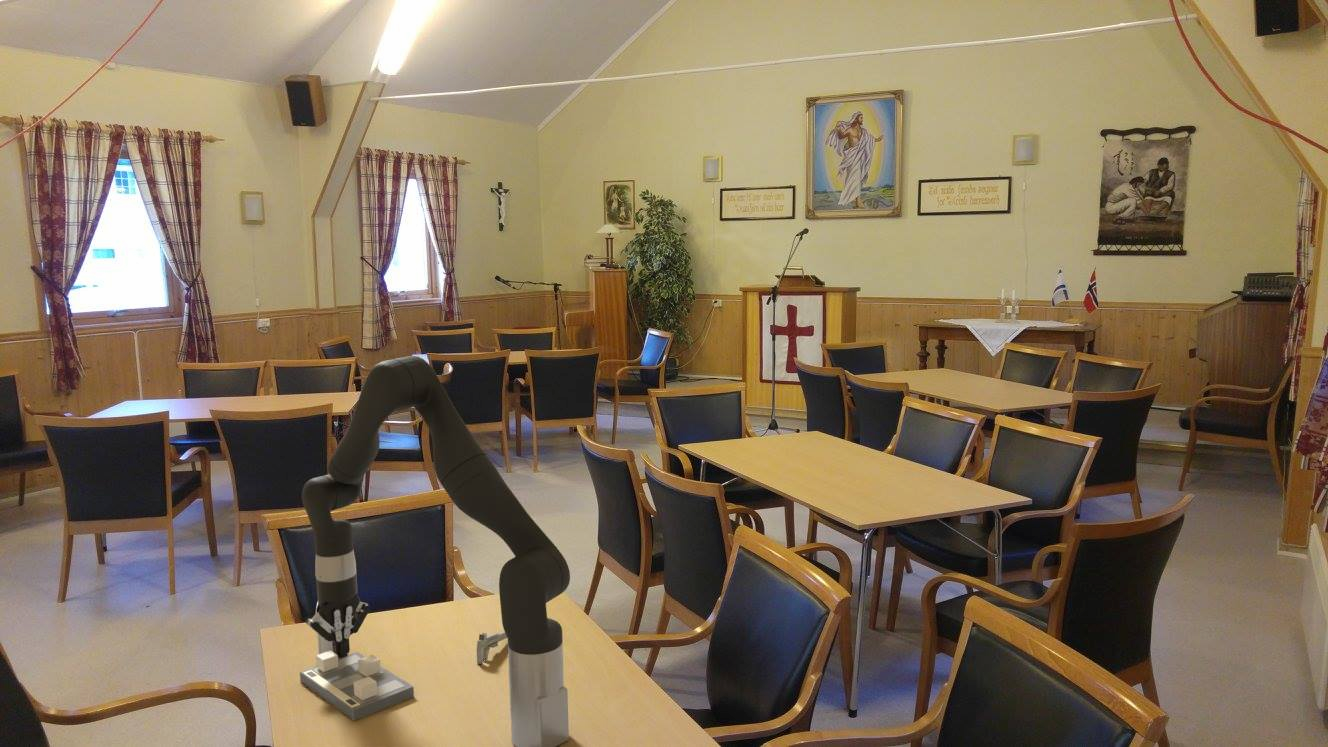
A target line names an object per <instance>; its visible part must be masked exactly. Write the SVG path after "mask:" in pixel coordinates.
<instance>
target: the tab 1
mask: <svg viewBox="0 0 1328 747" xmlns="http://www.w3.org/2000/svg"><path fill="white" fill-rule="evenodd" d="M315 660H316V662H315V663H316V666H317V668H318V669H320V670H321V671H323V672H326V671H328V670H331V669H334V668H337V667H338V655H337V654H335V653H334V652H332V651H331V650H330V651H327V652H324V653H322V654H317V655H316V654H315Z"/></svg>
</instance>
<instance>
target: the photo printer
mask: <svg viewBox="0 0 1328 747" xmlns="http://www.w3.org/2000/svg"><path fill="white" fill-rule="evenodd" d="M317 606H318V601H317V602H316V608H317ZM316 608H315V609H316ZM316 613H317V612H316V611H315V614H316ZM321 621H322V625H321V626H322V627H323V628H324V629H325V630H326V631H327V632H329V633H330V629H329V627H328V623H327V622H326V621H325V620H324V619H323V618H321ZM316 636H317V652H318V654H317V655H319V654H322V653H324V652H327V651H330V650H331V651H332V652H333V645H332V641H330V642H329V641H327V640H326V639H324V638H323V637H321V636H320V635H319V634H318V633H317V632H316Z"/></svg>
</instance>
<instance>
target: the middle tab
mask: <svg viewBox="0 0 1328 747" xmlns="http://www.w3.org/2000/svg"><path fill="white" fill-rule="evenodd" d="M358 666H359V672H360V673H361V674H363V675H364V676H366V677H367V676H370V675H373V674H375V673H378V672H381V667H382V666H381V658H379V657H377V656H375V655H374V654H370V655H368V656H365V657H364V658H362V659H359V660H358ZM380 666H381V667H380Z"/></svg>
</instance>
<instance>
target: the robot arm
mask: <svg viewBox="0 0 1328 747" xmlns="http://www.w3.org/2000/svg"><path fill="white" fill-rule="evenodd" d="M412 408H414V409H415V410H416V411H417V413H418V414H419V416H421V418H422V420H423V422H424V423H425V425H426V426H427V427H428V429H429V432H430V435H431V440H432V457H433V458H432V459H433V467H434V468H433V469H434V471H435V475H436V477H437V478H436V479H437V480H438V481H439V483H440V485H441V487H442V488H443V489H444V491H445V493H447V495H448V497H449V498H450V499H451V502H453V504H454V505H455V506H456V507H457V508H458V509H459V510H460V511H461V512H462V513H464V514H465V515H466V516H467V517H469V518H471V519H472V520H474V521H476V522H477V523H479V524H481V525H482V526H483V527H485V528H487V529H489V530H491V531H492V532H493V533H494V534H495V535H497V536H498V537H500V539H501V540H503V541H504V543H505V544H506V546H507V547H508V548H509V550H510V551H511V553H513V555H514V557H512V558H510V559H509V560H507V562H505V563H504V564H503V566H502V568H501V570H500V573H499V579H498V580H499V581H498V590H499V591H498V592H499V604H500V613H501V624H502V627H503V631H505V633H506V636H507V638H506V639H507V650H508V651H507V653H508V654H507V655H508V656H507V657H508V677H509V678H508V679H509V705H510V708H509V709H510V710H509V711H510V728H511V729H510V731H511V742H512V744H513V745H514V746H515V747H557V746H559V745H561V744H563V743H565V742H567V741H569V740H570V732H569V730H570V729H569V727H570V726H569V697H568V695H569V694H568V688H567V687H566V686H564V685H565V682H564V680H565V676H564V645H563V644H564V642H563V641H564V640H563V628H562V626H561V624H560V623H559V622H558V621H557V620H555V619H553V618H548V612H547V603H548V602H551V601H552V600H554V599H555V598H557V597H558V596H560V595H561V594H563V593H564V592H566V590H567V589H568V587H569V585H570V581H571V571H570V567H569V565H568V563H567V560H566V558H565V557H564V555H563V554H562V553H561V551H560V550H559V548H558V547H557V546H556V545H555V543H554V542H553V541H552V540H551V539H550V538H549V537H548V536H547V535H546V533H545V532H544V531H543V530H542V529H541V528H540V526H539V525H538V524H537V523H536V522H535V521H534V519H533V518H532V517H531V516H530V514H529V513H528V512H527V510H526V509H525V508H524V506H523V505H522V503H521V502H520V501H519V499H518V498H517V497H516V495H515V494H514V493H513V492H512V491H513V490H512V489H510V487H509V486H508V485H507V483H506V482H505V480H504V478H503V477H502V476H501V474H500V473H499V472H500V471H499V470H498V469H497V468H496V466H495V465H494V463H493V462H492V460H491V458H489V456H488V454H486V452H485V451H484V449H483V448H482V447H481V445H480V444H479V443H478V442H477V439H476V438H475V437H474V435H473V434H472V432H471V431H470V429H469V428H468V426H467V425H466V422H464V420H463V418H462V417H461V416H460V414H459V412H458V410H456V407H455V406H454V404H453V402H452V400H451V398H450V397H449V395H448V393H447V391H446V389H445V388H444V386H443V384H442V382H441V380H440V378H439V377H438V375H437V373H436V372H435V370H434V368H433V367H432V366H431V365H430V364H429V363H428V362H427V360H425V359H424V358H422V357H420V356H417V355H408V356H403V357H398V358H393V359H388V360H383V361H381V362H377V363H376V364H375V365H373V366H372V368H371V369H370V370H369V372H368V374H367V376H366V378H365V380H364V383H363V385H362V389H361V391H360V394H359V397H358V400H357V402H356V404H355V408H354V410H353V414H352V417H351V419H350V423H349V424H348V427H347V428H346V431H345V433H344V435H343V437H342V438H341V440H340V441H339V443H338V445H337V446H336V448H335V449H334V451H333V452H332V454H331V456H330V458H329V460H328V462H327V471H328V474H325V475H320V476H317V477H313V478H311V479H309V480H307V481H306V483H305V484H304V486H303V488H302V491H301V500H302V505H303V507H304V510H305V512H306V515H307V518H308V520H309V523H310V527H311V529H312V532H313V535H314V545H315V546H314V547H315V548H314V549H315V561H314V562H315V564H314V566H315V568H314V569H315V570H314V575H315V579H316V580H315V581H316V582H315V583H316V595H317V596H316V597H317V602H318V606H317V605H316V606H317V608H315V614H314V615H313V617H311V618H310V617H309V618H307V619H306V620H305V624H306V625H307V626H309V627H310V628H311V629H312V630H313V631H314V632H315V633H316V634H317V633H318V634H319V635H320V636H321V637H323V638H324V639H326V640H327V641H329V642H330V641H332V645H333V652H334V653H335V654H337V655H338V658H340V659H341V658H344V657H347V656H348V655H349V653H350V650H351V649H350V637H351V635H353V634H356V633H358V632H359V629H360V628H361V626H362V625H363V623H364V621H365V619H366V617H367V616H368V614H369V612H370V610H372V608H371V607H372V606H371V605H369V604H368V603H367V602H363V601H361V599H360V598H361V597H360V596H358V591H359V590H358V579H357V578H358V576H357V562H356V556H355V552H354V550H355V549H354V548H355V547H354V536H353V527H352V524H351V522H350V521H349V520H347V519H341V518H340V519H339V518H334V519H333V517H332V513H331V512H333V511H335V510H339V509H342V508H345V507H348V506H351V505H352V504H353V503H355V502H356V500H358V498H359V496H360V495H361V493H362V492H361V491H362V487H363V483H364V477H365V474H366V473H367V472H368V470H369V468H370V467H371V465H372V464H373V462H374V461H375V459H376V457H377V455H378V453H379V450H380V435H379V430H380V429H381V426H382V425H383V424H384V423H385V421H386V420H387V419H388V418H389V417H390V416H391V415H392V414H393V413H394V412H400V411H404V410H409V409H412ZM316 612H317V613H316ZM321 618H323V619H324V620H325V621H326V622H327V623H328V627H329V629H330V633H329V632H327V631H326V630H325V629H324V628H323V627H322V626H321V625H322V621H321Z"/></svg>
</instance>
